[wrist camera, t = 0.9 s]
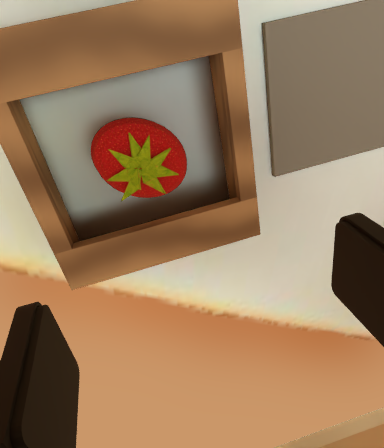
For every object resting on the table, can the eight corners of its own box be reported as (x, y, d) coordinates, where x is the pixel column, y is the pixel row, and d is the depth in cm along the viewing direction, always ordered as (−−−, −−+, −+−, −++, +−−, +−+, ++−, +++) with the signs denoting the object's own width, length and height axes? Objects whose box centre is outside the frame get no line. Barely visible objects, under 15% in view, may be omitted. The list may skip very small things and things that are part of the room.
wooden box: (240, 209, 37) (260, 234, 32) (75, 256, 35) (71, 290, 30) (211, -10, 27) (235, -21, 22) (-22, 39, 25) (-51, 38, 20)
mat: (390, 142, 37) (394, 143, 37) (272, 174, 36) (274, 176, 35) (408, -10, 30) (413, -11, 30) (262, 23, 29) (265, 23, 28)
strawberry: (161, 182, 33) (183, 231, 25) (84, 157, 30) (77, 203, 22) (184, 124, 31) (215, 156, 23) (102, 92, 28) (103, 115, 20)
